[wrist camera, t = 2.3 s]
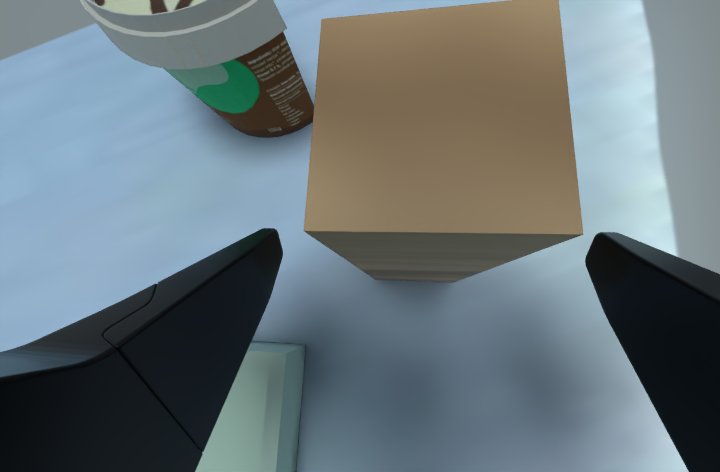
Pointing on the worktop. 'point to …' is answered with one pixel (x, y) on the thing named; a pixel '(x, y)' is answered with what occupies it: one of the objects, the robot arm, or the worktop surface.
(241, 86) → the food container
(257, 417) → the tray
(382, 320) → the worktop surface
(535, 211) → the walnut post
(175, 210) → the worktop surface
